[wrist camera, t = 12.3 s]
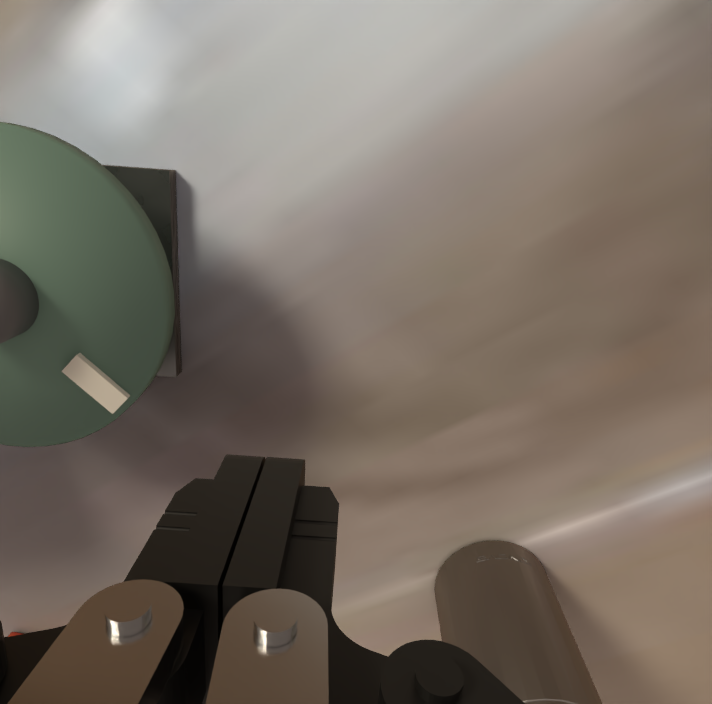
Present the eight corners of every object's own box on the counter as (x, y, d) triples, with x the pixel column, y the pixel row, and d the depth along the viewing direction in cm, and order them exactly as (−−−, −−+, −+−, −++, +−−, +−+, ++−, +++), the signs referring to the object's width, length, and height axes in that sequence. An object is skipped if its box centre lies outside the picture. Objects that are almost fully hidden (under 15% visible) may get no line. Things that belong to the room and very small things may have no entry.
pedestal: (181, 371, 41) (147, 409, 35) (-11, 357, 41) (-80, 393, 35) (175, 170, 37) (135, 171, 30) (-40, 154, 37) (-125, 152, 30)
